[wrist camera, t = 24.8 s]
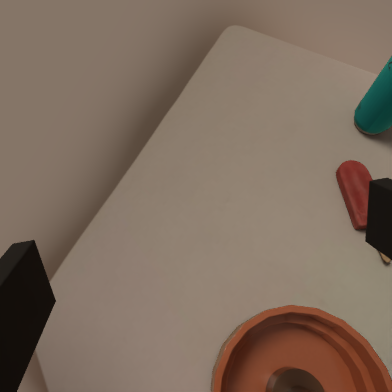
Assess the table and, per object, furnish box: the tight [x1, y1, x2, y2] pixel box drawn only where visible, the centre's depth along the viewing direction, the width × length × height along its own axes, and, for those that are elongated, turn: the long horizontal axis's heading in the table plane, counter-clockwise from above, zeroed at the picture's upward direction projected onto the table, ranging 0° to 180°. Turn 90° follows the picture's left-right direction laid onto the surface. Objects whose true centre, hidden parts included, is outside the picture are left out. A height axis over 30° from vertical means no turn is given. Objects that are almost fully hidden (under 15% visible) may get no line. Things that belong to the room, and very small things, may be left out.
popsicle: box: [336, 160, 391, 262], centre depth 43 cm, size 4×2×15 cm
